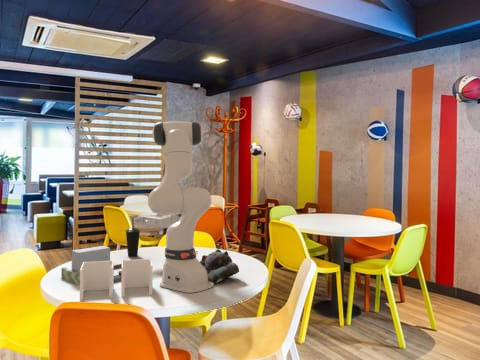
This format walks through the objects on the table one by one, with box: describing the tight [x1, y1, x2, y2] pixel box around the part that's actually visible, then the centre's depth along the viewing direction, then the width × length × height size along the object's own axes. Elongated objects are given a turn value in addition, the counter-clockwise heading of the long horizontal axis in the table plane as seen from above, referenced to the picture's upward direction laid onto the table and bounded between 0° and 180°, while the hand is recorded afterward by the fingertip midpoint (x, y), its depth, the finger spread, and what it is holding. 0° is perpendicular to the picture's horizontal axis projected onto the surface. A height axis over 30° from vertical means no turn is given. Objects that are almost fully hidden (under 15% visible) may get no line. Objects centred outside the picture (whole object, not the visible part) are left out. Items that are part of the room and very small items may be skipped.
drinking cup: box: [124, 217, 141, 258], centre depth 205 cm, size 8×8×20 cm
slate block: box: [71, 245, 111, 273], centre depth 165 cm, size 6×14×12 cm, turn 138°
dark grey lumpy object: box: [199, 249, 240, 285], centre depth 164 cm, size 15×12×14 cm
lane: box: [61, 263, 122, 286], centre depth 168 cm, size 16×27×4 cm, turn 138°
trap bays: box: [114, 271, 122, 283], centre depth 170 cm, size 28×9×2 cm, turn 48°
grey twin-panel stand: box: [79, 258, 154, 301], centre depth 145 cm, size 25×11×11 cm, turn 106°
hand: (140, 221), depth 182 cm, fingers open, 8 cm apart
